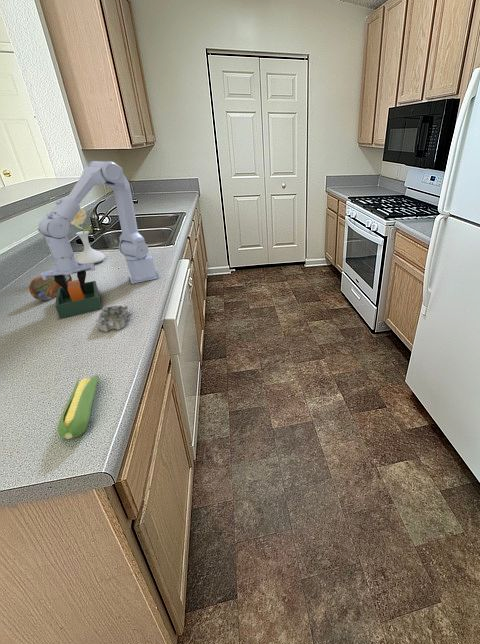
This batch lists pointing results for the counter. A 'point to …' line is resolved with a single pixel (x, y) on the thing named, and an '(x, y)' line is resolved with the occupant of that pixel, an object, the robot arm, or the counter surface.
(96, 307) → the bin
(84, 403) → the edible corn
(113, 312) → the grey stone
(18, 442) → the counter surface
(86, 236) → the flower in vase
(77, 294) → the orange block
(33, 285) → the tin
